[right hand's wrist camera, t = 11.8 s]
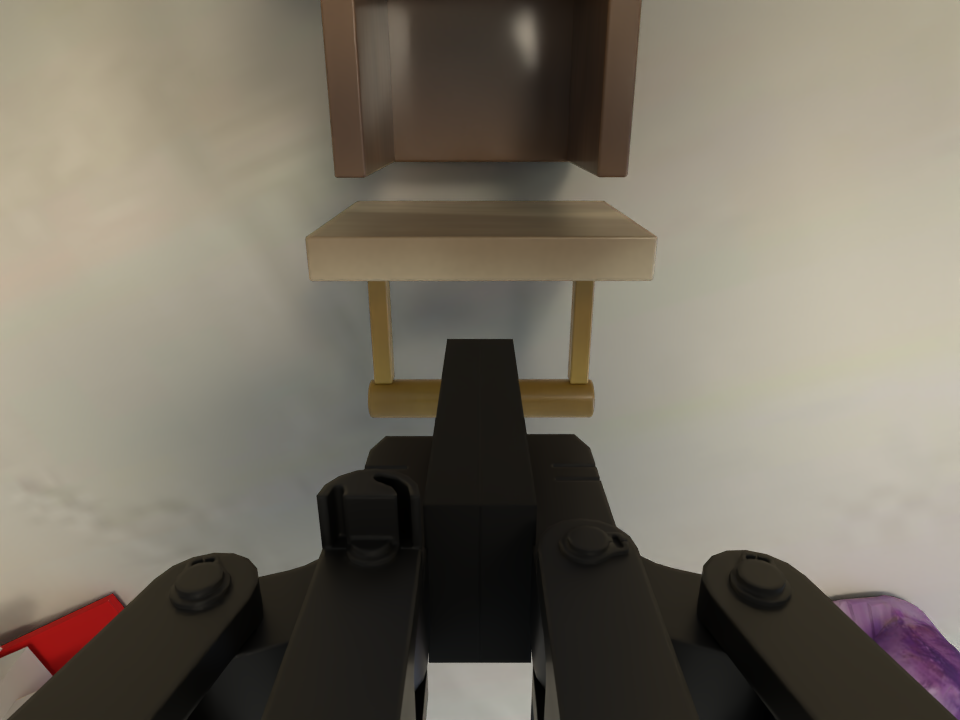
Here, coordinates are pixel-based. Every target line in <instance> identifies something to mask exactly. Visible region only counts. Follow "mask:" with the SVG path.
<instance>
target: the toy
mask: <svg viewBox="0 0 960 720" xmlns="http://www.w3.org/2000/svg"><path fill="white" fill-rule="evenodd" d="M123 609H124V607H123V606H122V604H121V603H120V602H119V601H118V599H117V598H116V597H115V596H114V594H111V595H109V596H106V597H104V598H102V599H100V600H98V601H96V602H94V603H92V604H89V605H87V606H85V607H83V608H81V609H79V610H77V611H75V612H72V613H70V614H68V615H66V616H64V617H62V618H60V619H58V620H55V621H53V622H51V623H49V624H47V625H45V626H43V627H41V628H38V629H36V630H34V631H32V632H30V633H28V634H26V635H24V636H22V637H19V638H17V639H15V640H13V641H11V642H9V643H7V644H5V645H2V646H0V720H7V719H8V718H9V717H10V716H11V715H12V714H13V713H14V712H15V711H16V710H18V709H19V708H20V707H21V706H22V705H23V704H24V703H25V702H26V701H27V700H28V699H29V698H30V697H31V696H32V695H33V694H34V693H35V692H36V691H38V690H39V689H40V688H41V687H42V686H43V685H44V684H45V683H46V682H47V681H48V680H49V679H50V678H51V677H52V676H53V675H54V674H55V673H57V672H58V671H59V670H60V669H61V668H62V667H63V666H64V665H65V664H66V663H67V662H68V661H69V660H70V659H71V658H72V657H73V656H74V655H75V654H77V653H78V652H79V651H80V650H81V649H82V648H83V647H84V646H85V645H86V644H87V643H88V642H89V641H90V640H91V639H92V638H93V637H94V636H96V635H97V634H98V633H99V632H100V631H101V630H102V629H103V628H104V627H105V626H106V625H107V624H108V623H109V622H110V621H111V620H112V619H113V618H114V617H116V616H117V615H118V614H119V613H120V612H121V611H122V610H123Z"/></svg>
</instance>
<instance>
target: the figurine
mask: <svg viewBox="0 0 960 720" xmlns="http://www.w3.org/2000/svg"><path fill="white" fill-rule="evenodd" d="M833 602H834V603H835V604H836V605H837V606H838V607H839V608H840V609H841V610H842V611H843V612H844V613H845V614H846V615H847V616H848V617H850V618H851V619H852V620H853V621H854V622H855V623H856V624H857V625H858V626H859V627H860V628H861V629H862V630H863V631H864V632H865V633H867V634H868V635H869V636H870V637H871V638H872V639H873V640H874V641H875V642H876V643H877V644H878V645H879V646H880V647H881V648H882V649H884V650H885V651H886V652H887V653H888V654H889V655H890V656H891V657H892V658H893V659H894V660H895V661H896V662H897V663H898V664H899V665H900V666H902V667H903V668H904V669H905V670H906V671H907V672H908V673H909V674H910V675H911V676H912V677H913V678H914V679H915V680H916V681H917V682H919V683H920V684H921V685H922V686H923V687H924V688H925V689H926V690H927V691H928V692H929V693H930V694H931V695H932V696H933V697H934V698H936V699H937V700H938V701H939V702H940V703H941V704H942V705H943V706H944V707H945V708H946V709H947V710H948V711H949V712H950V713H951V714H953V715H954V716H955V717H956V718H957V719H958V720H960V652H959V651H958V650H957V649H956V648H955V647H954V646H953V645H951V644H950V643H949V642H948V641H947V640H946V639H945V638H944V637H943V635H942V634H941V633H940V632H939V631H938V630H937V628H936V627H935V626H934V625H933V623H932V622H931V621H930V620H929V618H928V617H927V616H926V615H925V613H924V612H923V611H922V610H920V609H919V608H918V607H916V606H915V605H913V604H911V603H909V602H907V601H904V600H902V599H899V598H896V597H893V596H887V595H881V596H876V597H864V598H852V599H842V600H836V601H833Z"/></svg>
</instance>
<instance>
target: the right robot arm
mask: <svg viewBox="0 0 960 720" xmlns="http://www.w3.org/2000/svg"><path fill="white" fill-rule="evenodd" d="M317 504H318V513H319V522H320V531H321V540H322V548H323V549H322V552H321V554H320V557H319V559H318V560H316V561H314V562H311V563H309V564H307V565H305V566H302V567H299V568H295V569H292V570H289V571H284V572H280V573H275V574H271V575H266V576H262V577H258V571H257V568H256V567H255V566H254V565H253V563H252V562H251V561H250V560H249V559H248V558H245V557H242V556H239V555H237V554H234V553H211V554H207V555H202V556H197V557H193V558H190V559H188V560H186V561H184V562H181V563H179V564H177V565H174V566H172V567H171V568H169V569H168V570H167V571H165V572H164V573H163V574H161V575H160V576H158V577H157V578H156V579H155V580H153V581H152V582H151V583H150V584H149V585H148V586H147V587H146V588H145V589H144V590H143V591H142V592H141V593H140V594H139V595H138V596H137V597H136V598H135V599H133V600H132V601H131V602H130V603H129V604H128V605H127V606H126V607H125V608H124V609H123V610H122V611H121V612H120V613H119V614H118V615H117V616H116V617H114V618H113V619H112V620H111V621H110V622H109V623H108V624H107V625H106V626H105V627H104V628H103V629H102V630H101V631H100V632H99V633H98V634H97V635H96V636H94V637H93V638H92V639H91V640H90V641H89V642H88V643H87V644H86V645H85V646H84V647H83V648H82V649H81V650H80V651H79V652H78V653H77V654H75V655H74V656H73V657H72V658H71V659H70V660H69V661H68V662H67V663H66V664H65V665H64V666H63V667H62V668H61V669H60V670H59V671H58V672H57V673H55V674H54V675H53V676H52V677H51V678H50V679H49V680H48V681H47V682H46V683H45V684H44V685H43V686H42V687H41V688H40V689H39V690H38V691H36V692H35V693H34V694H33V695H32V696H31V697H30V698H29V699H28V700H27V701H26V702H25V703H24V704H23V705H22V706H21V707H20V708H19V709H18V710H16V711H15V712H14V713H13V714H12V715H11V716H10V717H9V718H8V719H7V720H426V714H427V702H428V680H427V663H428V653H429V663H531V649H532V660H533V680H532V704H531V720H958V719H957V718H956V717H955V716H954V715H953V714H951V713H950V712H949V711H948V710H947V709H946V708H945V707H944V706H943V705H942V704H941V703H940V702H939V701H938V700H937V699H936V698H934V697H933V696H932V695H931V694H930V693H929V692H928V691H927V690H926V689H925V688H924V687H923V686H922V685H921V684H920V683H919V682H917V681H916V680H915V679H914V678H913V677H912V676H911V675H910V674H909V673H908V672H907V671H906V670H905V669H904V668H903V667H902V666H900V665H899V664H898V663H897V662H896V661H895V660H894V659H893V658H892V657H891V656H890V655H889V654H888V653H887V652H886V651H885V650H884V649H882V648H881V647H880V646H879V645H878V644H877V643H876V642H875V641H874V640H873V639H872V638H871V637H870V636H869V635H868V634H867V633H865V632H864V631H863V630H862V629H861V628H860V627H859V626H858V625H857V624H856V623H855V622H854V621H853V620H852V619H851V618H850V617H848V616H847V615H846V614H845V613H844V612H843V611H842V610H841V609H840V608H839V607H838V606H837V605H836V604H835V603H834V602H833V601H831V600H830V599H829V598H828V597H827V596H826V595H825V594H824V593H823V592H822V591H821V590H820V589H819V588H818V587H817V586H816V585H814V584H813V583H812V582H811V581H810V580H809V579H808V578H807V577H806V576H805V575H803V574H802V573H801V572H799V571H798V570H796V569H795V568H794V567H792V566H791V565H789V564H788V563H786V562H783V561H781V560H779V559H777V558H774V557H772V556H770V555H767V554H762V553H757V552H753V551H748V550H733V551H725V552H722V553H719V554H716V555H713V556H712V557H711V558H710V559H709V560H708V561H707V562H706V563H705V565H704V566H703V571H702V575H701V574H697V573H692V572H688V571H683V570H679V569H674V568H670V567H667V566H663V565H660V564H657V563H654V562H652V561H650V560H648V559H646V558H644V557H642V556H640V554H639V551H638V548H637V547H636V545H635V544H634V542H633V541H632V539H631V538H630V536H629V535H627V534H626V533H624V532H623V531H622V530H620V529H619V528H617V527H616V525H615V522H614V519H613V516H612V513H611V510H610V507H609V504H608V501H607V498H606V495H605V492H604V489H603V486H602V483H601V481H600V477H599V474H598V471H597V468H596V467H595V462H594V459H593V456H592V453H591V450H590V448H589V447H588V446H587V445H586V444H585V443H584V442H582V441H581V440H580V439H579V438H578V437H577V436H576V435H574V434H527V433H526V426H525V420H524V413H523V406H522V399H521V392H520V386H519V379H518V372H517V365H516V359H515V352H514V345H513V339H447V345H446V352H445V359H444V365H443V372H442V379H441V386H440V392H439V399H438V406H437V413H436V420H435V426H434V433H433V436H386V437H384V438H383V439H382V440H381V441H380V442H379V443H378V444H377V445H375V446H374V447H373V448H372V449H371V450H370V452H369V455H368V458H367V461H366V464H365V469H364V470H357V471H354V472H351V473H348V474H344V475H341V476H339V477H337V478H335V479H334V480H332V481H331V482H329V483H327V484H326V485H325V486H324V487H323V488H322V489H321V491H320V492H319V493H318V495H317Z"/></svg>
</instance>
